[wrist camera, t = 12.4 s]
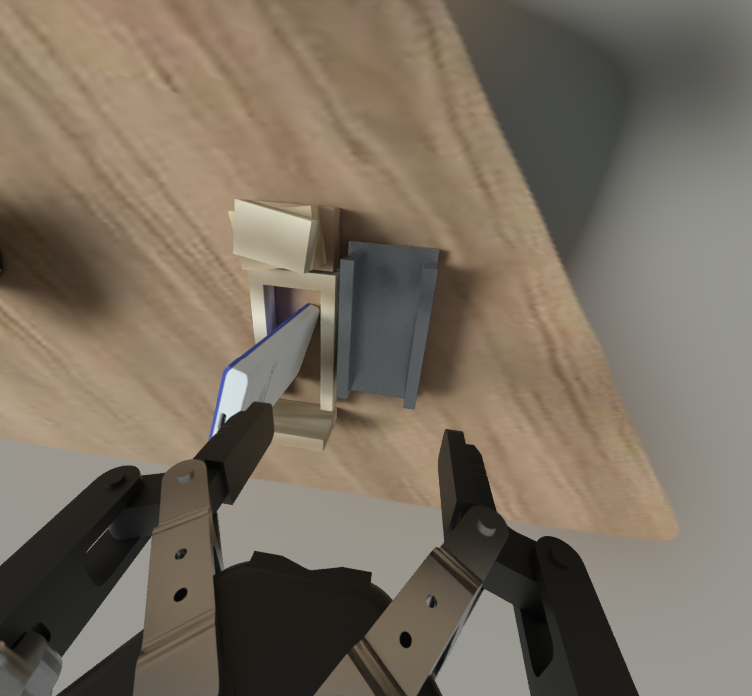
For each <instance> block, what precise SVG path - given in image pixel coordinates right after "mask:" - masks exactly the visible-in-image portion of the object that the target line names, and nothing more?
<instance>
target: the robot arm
mask: <svg viewBox="0 0 752 696" xmlns="http://www.w3.org/2000/svg"><path fill="white" fill-rule="evenodd" d="M273 436H274V419H273V409H272V405H271V404H270V403H264V402H257V401H254V402H253V403H252V404H251V405H250V406H249V407H248V408H247V410H246V411H239V412H238V413H236V414H234V415H233V416H231V417H230V418H229V419H228V420H227V421H226V422H225V423H224V424H223V427H221V428H220V429H219V430H218V431H217V433H216V434H215V435H214V436H213V437H212V438H211V439H210V440H209V441H208V442H207V444H206V445H205V446H204V447H203V448H202V449H201V450H200V451H199V453H198V454H197V455H196V456H195V457H194V458H193V459H190V460H185V461H182V462H180V463H177V464H176V465H174V466H173V467H171V468H170V469H169V470H168V471H167V472H166V473H160V474H151V475H142V476H141V473H140V471H139V469H138V468H137V467H135V466H121V467H117V468H114V469H111V470H109V471H107V472H105V473H104V474H102V475H101V476H99V477H98V478H97V479H96V480H95V481H93V482H92V483H91V484H90V485H89V486H88V487H87V488H86V489H85V490H83V491H82V492H81V493H80V494H79V495H78V496H77V497H76V498H75V499H74V500H72V501H71V502H70V503H69V504H68V505H67V506H66V507H65V508H64V509H62V510H61V511H60V512H59V513H58V514H57V515H56V516H55V517H54V518H53V519H52V520H50V522H48V523H47V524H46V525H45V526H44V527H43V528H42V529H41V530H39V531H38V532H37V533H36V534H35V535H34V536H33V537H32V538H31V539H30V540H28V541H27V542H26V543H25V544H24V545H23V546H22V547H21V548H20V549H18V550H17V551H16V552H15V553H14V554H13V555H12V556H11V557H10V558H8V559H7V560H6V561H5V562H4V563H3V564H2V565H1V566H0V696H52V692H53V691H52V690H53V687H54V686H55V684H56V682H57V680H58V678H59V675H60V672H61V669H62V659H61V658H62V656H63V655H64V653H65V652H66V651H67V649H68V648H69V647H70V645H71V644H72V643H73V641H74V640H75V639H76V637H77V636H78V635H79V633H80V632H81V631H82V629H83V628H84V626H85V625H86V624H87V622H88V621H89V620H90V618H91V617H92V616H93V614H94V613H95V612H96V610H97V609H98V608H99V606H100V605H101V604H102V602H103V601H104V600H105V598H106V597H107V596H108V594H109V593H110V592H111V590H112V589H113V587H114V586H115V585H116V583H117V582H118V581H119V579H120V578H121V577H122V575H123V574H124V573H125V571H126V570H127V569H128V567H129V566H130V564H131V563H132V562H133V561H134V559H135V558H136V556H137V555H138V554H139V552H140V551H141V550H142V548H143V547H144V546H145V544H146V543H147V542H148V540H149V539H150V538H151V536H152V541H151V554H150V565H149V575H148V586H147V598H146V609H145V620H144V629H143V630H142V631H140V632H139V633H138V634H136V635H135V636H134V637H132V638H131V639H130V640H129V641H127V642H126V643H125V644H123V645H122V646H121V647H119V648H118V649H117V650H115V651H114V652H113V653H112V654H110V655H109V656H107V657H106V658H105V659H104V660H102V661H101V662H100V663H98V664H97V665H96V666H94V667H93V668H92V669H90V670H89V671H88V672H86V673H85V674H84V675H83V676H81V677H80V678H78V679H77V680H76V681H75V682H73V683H72V684H71V685H69V686H68V687H67V688H65V689H64V690H63V691H61V692H60V693H59V694H58V695H56V696H442V694H441V692H440V690H439V688H438V686H437V684H436V682H435V680H436V678H437V676H438V675H439V672H440V671H441V669H442V667H443V665H444V664H445V662H446V660H447V658H448V656H449V654H450V653H451V651H452V649H453V647H454V645H455V643H456V641H457V639H458V637H459V635H460V633H461V631H462V629H463V627H464V626H465V624H466V622H467V620H468V618H469V617H470V615H471V613H472V611H473V609H474V608H475V606H476V604H477V602H478V600H479V598H480V596H481V595H482V593H483V591H484V589H486V590H488V591H490V592H491V593H493V594H495V595H497V596H499V597H500V598H502V599H504V600H506V601H507V602H509V603H511V604H513V606H514V612H515V617H516V623H517V627H518V632H519V638H520V643H521V648H522V653H523V659H524V664H525V669H526V674H527V679H528V684H529V689H530V695H531V696H639V694H638V692H637V690H636V687H635V685H634V683H633V680H632V678H631V676H630V673H629V671H628V668H627V666H626V663H625V661H624V659H623V656H622V654H621V652H620V649H619V647H618V644H617V642H616V639H615V637H614V635H613V632H612V630H611V627H610V625H609V623H608V620H607V618H606V616H605V613H604V611H603V608H602V606H601V603H600V601H599V599H598V596H597V594H596V592H595V589H594V587H593V584H592V582H591V579H590V577H589V575H588V573H587V570H586V567H585V565H584V563H583V561H582V559H581V558H580V556H579V555H578V554H577V552H576V551H575V550H574V549H573V548H572V547H571V546H569V545H568V544H567V543H565V542H564V541H562V540H560V539H558V538H555V537H551V536H544V537H541V538H540V539H539V540H538V541H537V542H536V541H534V540H532V539H530V538H528V537H526V536H523V535H521V534H519V533H517V532H515V531H514V530H512V529H510V527H508V526H507V524H506V522H505V520H504V519H503V517H502V516H501V515H500V514H499V513H498V512H497V511H496V508H495V504H494V500H493V497H492V493H491V489H490V485H489V481H488V478H487V476H486V470H485V467H484V463H483V459H482V455H481V454H480V452H479V451H478V450H477V448H476V447H475V446H474V445H469V444H466V443H465V438H464V434H463V432H462V431H456V430H449V429H445V431H444V435H443V440H442V444H441V448H440V452H439V458H438V473H439V485H440V497H441V509H442V521H443V531H444V543H443V544H442V546H441V547H440V548H437V547H436V548H434V549H433V550H432V551H431V553H430V554H429V555H428V556H427V558H426V559H425V560H424V561H423V563H422V564H421V565H420V567H419V568H418V569H417V570H416V572H415V573H414V574H413V576H412V577H411V578H410V579H409V581H408V582H407V583H406V584H405V586H404V587H403V588H402V589H401V591H400V592H399V594H397V596H396V597H395V598H394V600H392V599H391V598H390V596H389V595H388V594H386V593H385V592H384V591H383V590H382V589H381V588H379V587H378V586H376V585H374V584H373V583H371V576H372V572H367V571H362V570H356V569H350V568H345V567H338V568H329V569H319V570H308V569H306V568H304V567H302V566H300V565H299V564H297V563H295V562H293V561H291V560H289V559H287V558H286V557H284V556H280V555H275V554H269V553H263V552H258V551H254V553H253V556H252V558H251V560H250V561H247V562H243V563H239V564H236V565H233V566H230V567H229V568H226V569H224V563H223V557H222V548H221V539H220V530H219V520H218V513H217V510H218V509H219V507H220V506H221V504H222V503H224V504H230V505H233V503H234V502H235V500H236V498H237V497H238V495H239V494H240V492H241V490H242V489H243V487H244V485H245V484H246V482H247V481H248V479H249V477H250V476H251V474H252V473H253V471H254V469H255V468H256V466H257V464H258V463H259V461H260V460H261V458H262V456H263V455H264V453H265V452H266V450H267V448H268V447H269V445H270V443H271V442H272V439H273ZM107 528H108V529H107ZM106 529H107V530H106ZM105 530H106V532H105V533H104V534H103V535H102V536H101V534H102V533H103V532H104V531H105ZM100 536H101V537H100ZM99 537H100V538H99ZM98 538H99V539H98ZM97 539H98V541H97V542H96V543H95V544H94V545H93V546H92V544H93V543H94V542H95V541H96V540H97ZM91 546H92V547H91ZM90 547H91V548H90ZM89 548H90V549H89ZM88 549H89V551H88ZM87 551H88V552H87ZM86 552H87V553H86Z"/></svg>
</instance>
